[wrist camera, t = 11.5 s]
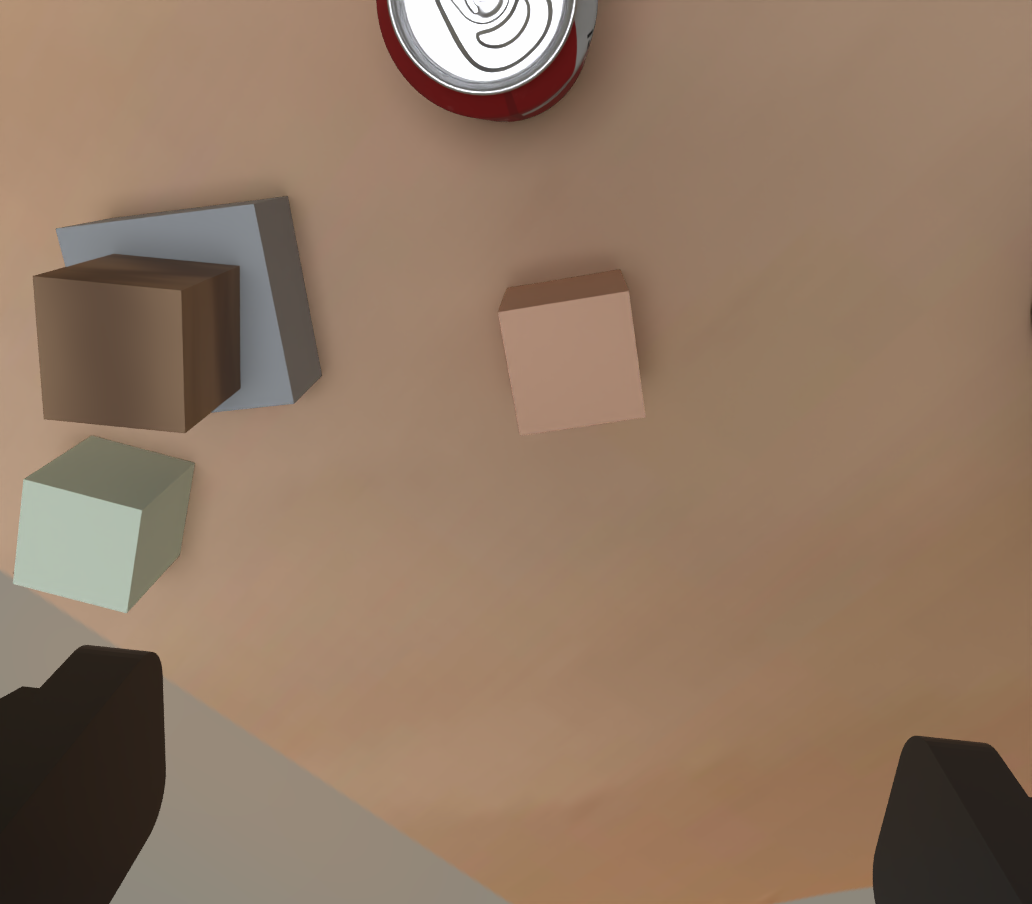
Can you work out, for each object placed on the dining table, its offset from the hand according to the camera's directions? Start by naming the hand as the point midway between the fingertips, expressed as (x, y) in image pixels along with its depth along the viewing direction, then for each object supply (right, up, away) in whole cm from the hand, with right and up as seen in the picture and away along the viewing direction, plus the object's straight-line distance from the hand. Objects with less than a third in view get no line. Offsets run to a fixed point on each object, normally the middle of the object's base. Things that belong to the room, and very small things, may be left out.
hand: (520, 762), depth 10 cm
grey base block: (-13, +10, +33) cm, 37 cm away
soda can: (0, +20, +28) cm, 35 cm away
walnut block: (-14, +8, +28) cm, 32 cm away
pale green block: (-18, +1, +36) cm, 40 cm away
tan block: (+2, +9, +32) cm, 33 cm away
